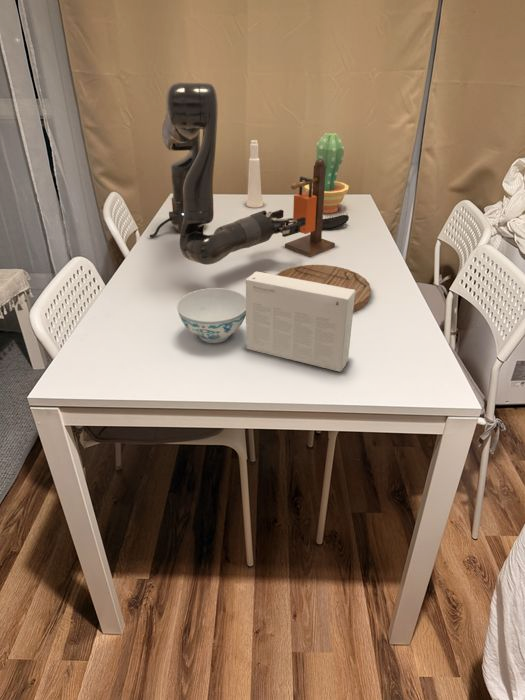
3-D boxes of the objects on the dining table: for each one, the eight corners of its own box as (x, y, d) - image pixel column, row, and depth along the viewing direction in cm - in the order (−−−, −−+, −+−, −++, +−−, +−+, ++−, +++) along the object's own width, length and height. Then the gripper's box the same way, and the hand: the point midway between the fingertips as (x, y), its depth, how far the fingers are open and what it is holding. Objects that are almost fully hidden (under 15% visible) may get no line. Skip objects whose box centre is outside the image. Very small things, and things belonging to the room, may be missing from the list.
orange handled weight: (305, 234, 152) (307, 181, 144) (292, 229, 155) (294, 177, 147) (314, 230, 154) (317, 178, 146) (302, 226, 158) (304, 174, 149)
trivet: (293, 264, 149) (293, 258, 148) (381, 282, 140) (382, 275, 139) (252, 302, 130) (252, 295, 129) (351, 325, 121) (352, 318, 120)
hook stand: (302, 260, 152) (306, 169, 138) (277, 250, 158) (278, 162, 144) (334, 246, 160) (341, 160, 146) (309, 237, 166) (313, 153, 152)
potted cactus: (352, 205, 192) (359, 131, 179) (339, 218, 181) (346, 140, 167) (311, 200, 198) (315, 127, 184) (296, 212, 186) (299, 136, 172)
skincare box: (349, 359, 110) (356, 289, 101) (341, 373, 105) (348, 301, 97) (256, 336, 117) (255, 269, 108) (244, 348, 113) (243, 280, 104)
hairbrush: (270, 213, 176) (346, 209, 176) (271, 224, 178) (346, 220, 178) (271, 222, 170) (350, 217, 169) (272, 233, 172) (350, 228, 172)
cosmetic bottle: (242, 205, 193) (241, 140, 181) (253, 201, 196) (253, 137, 185) (255, 208, 189) (255, 143, 177) (266, 204, 193) (266, 140, 181)
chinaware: (222, 361, 109) (220, 328, 105) (165, 340, 116) (161, 309, 112) (261, 329, 120) (261, 298, 115) (207, 312, 126) (205, 282, 122)
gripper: (269, 224, 134) (313, 209, 143) (232, 210, 142) (275, 197, 152) (269, 252, 138) (311, 236, 147) (232, 237, 147) (275, 223, 156)
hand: (293, 217), depth 149 cm, fingers open, 8 cm apart
